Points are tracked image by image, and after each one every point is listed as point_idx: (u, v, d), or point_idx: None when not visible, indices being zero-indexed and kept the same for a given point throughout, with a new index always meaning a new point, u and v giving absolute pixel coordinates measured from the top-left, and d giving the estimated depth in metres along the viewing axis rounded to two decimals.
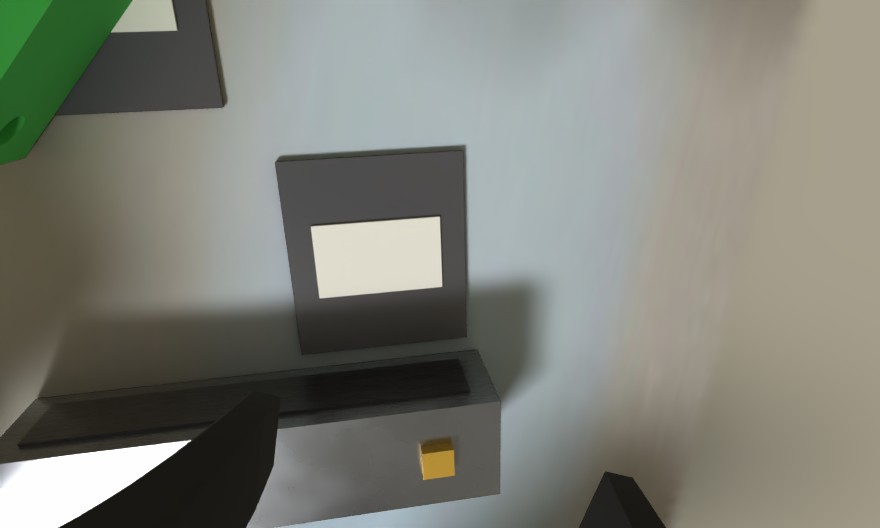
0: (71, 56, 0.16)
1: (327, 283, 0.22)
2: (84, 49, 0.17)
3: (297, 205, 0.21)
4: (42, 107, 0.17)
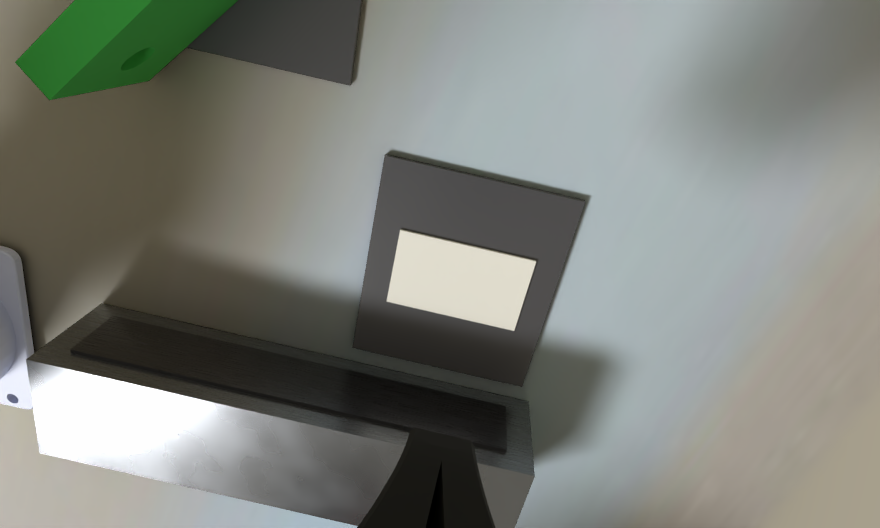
0: None
1: (398, 290, 0.21)
2: None
3: (393, 205, 0.19)
4: (175, 40, 0.16)
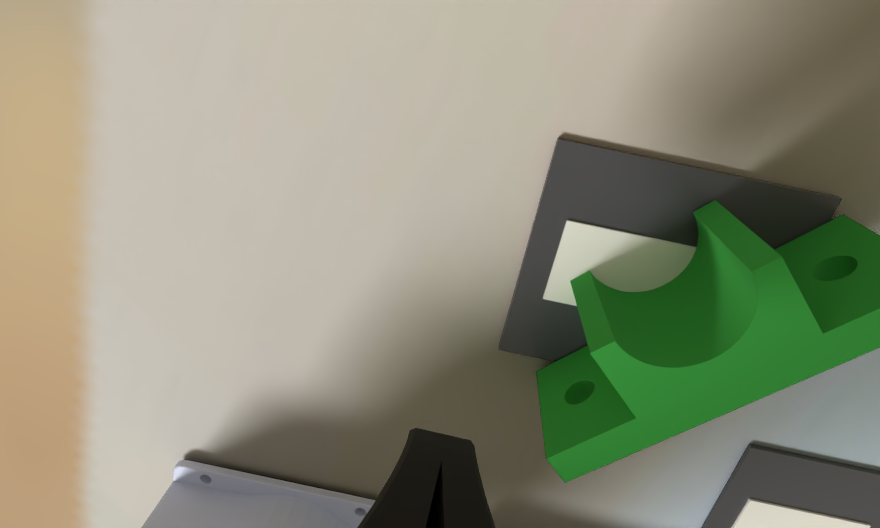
0: None
1: None
2: None
3: (748, 482, 0.22)
4: None
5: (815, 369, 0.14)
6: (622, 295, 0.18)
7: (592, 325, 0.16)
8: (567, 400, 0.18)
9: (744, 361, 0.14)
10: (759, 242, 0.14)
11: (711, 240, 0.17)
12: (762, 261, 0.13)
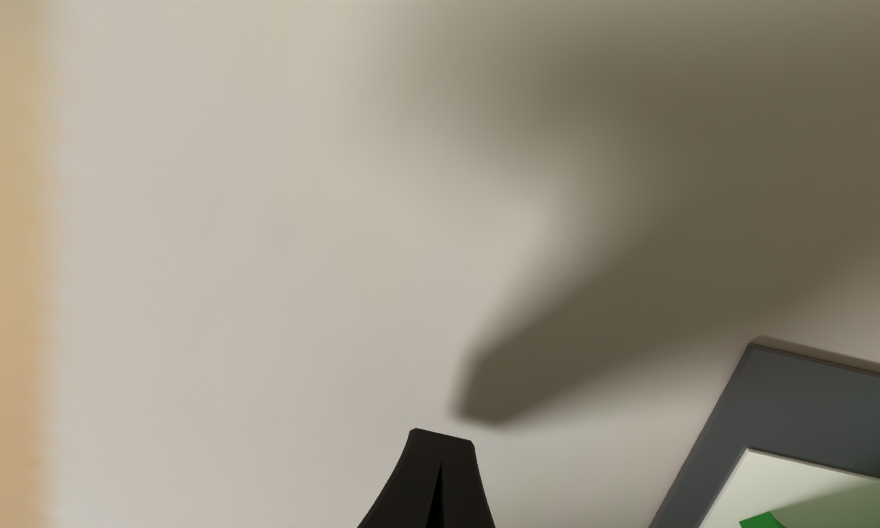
0: None
1: None
2: None
3: None
4: None
5: None
6: None
7: None
8: None
9: None
10: None
11: None
12: None
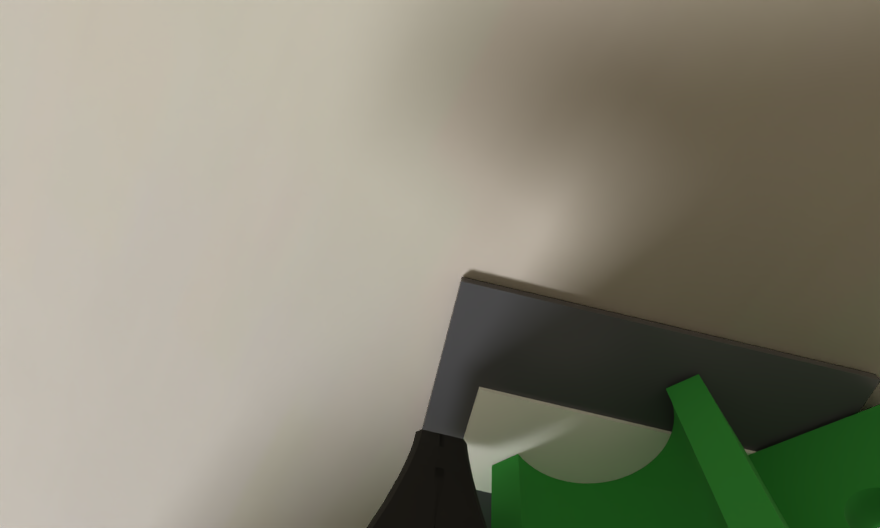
0: None
1: None
2: None
3: None
4: None
5: None
6: (564, 492, 0.13)
7: None
8: None
9: None
10: (766, 508, 0.09)
11: (691, 447, 0.11)
12: None
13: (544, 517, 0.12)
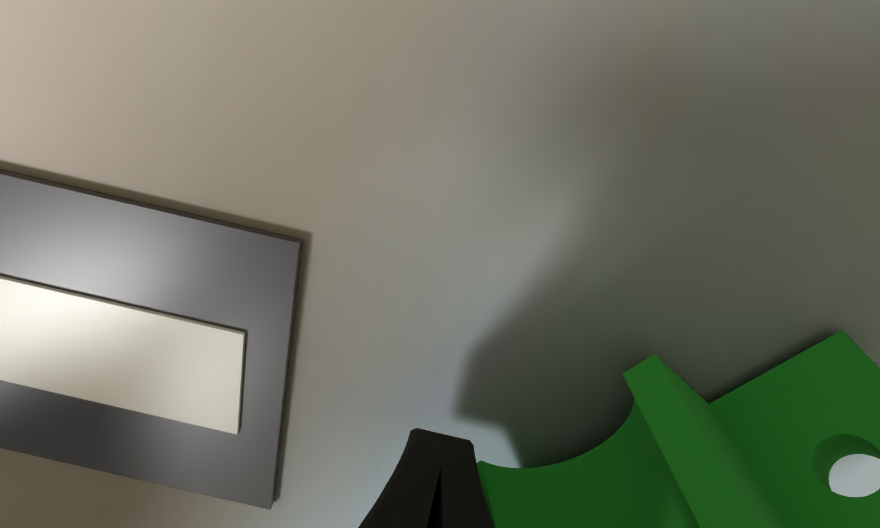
0: None
1: None
2: None
3: None
4: None
5: None
6: (535, 482, 0.12)
7: None
8: None
9: None
10: None
11: None
12: None
13: (521, 524, 0.11)
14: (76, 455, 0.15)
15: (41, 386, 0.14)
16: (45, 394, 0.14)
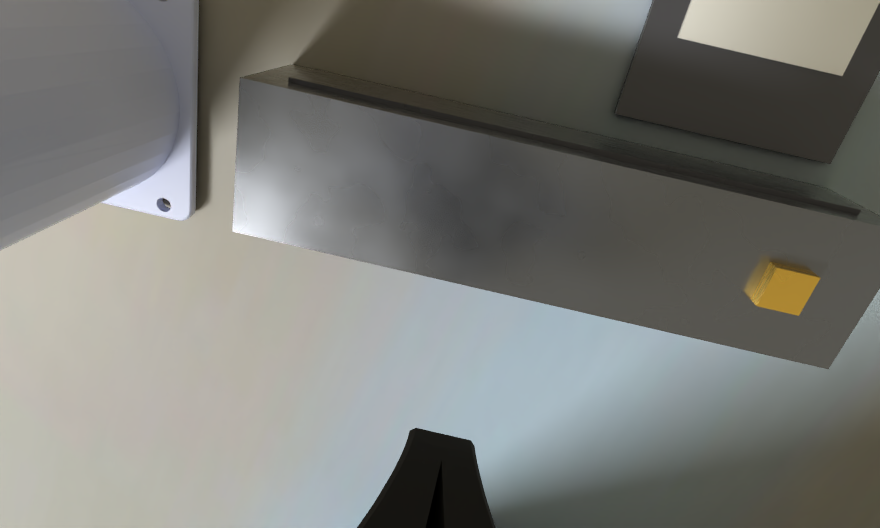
0: None
1: (698, 18, 0.16)
2: None
3: None
4: None
5: None
6: None
7: None
8: None
9: None
10: None
11: None
12: None
13: None
14: None
15: None
16: None
